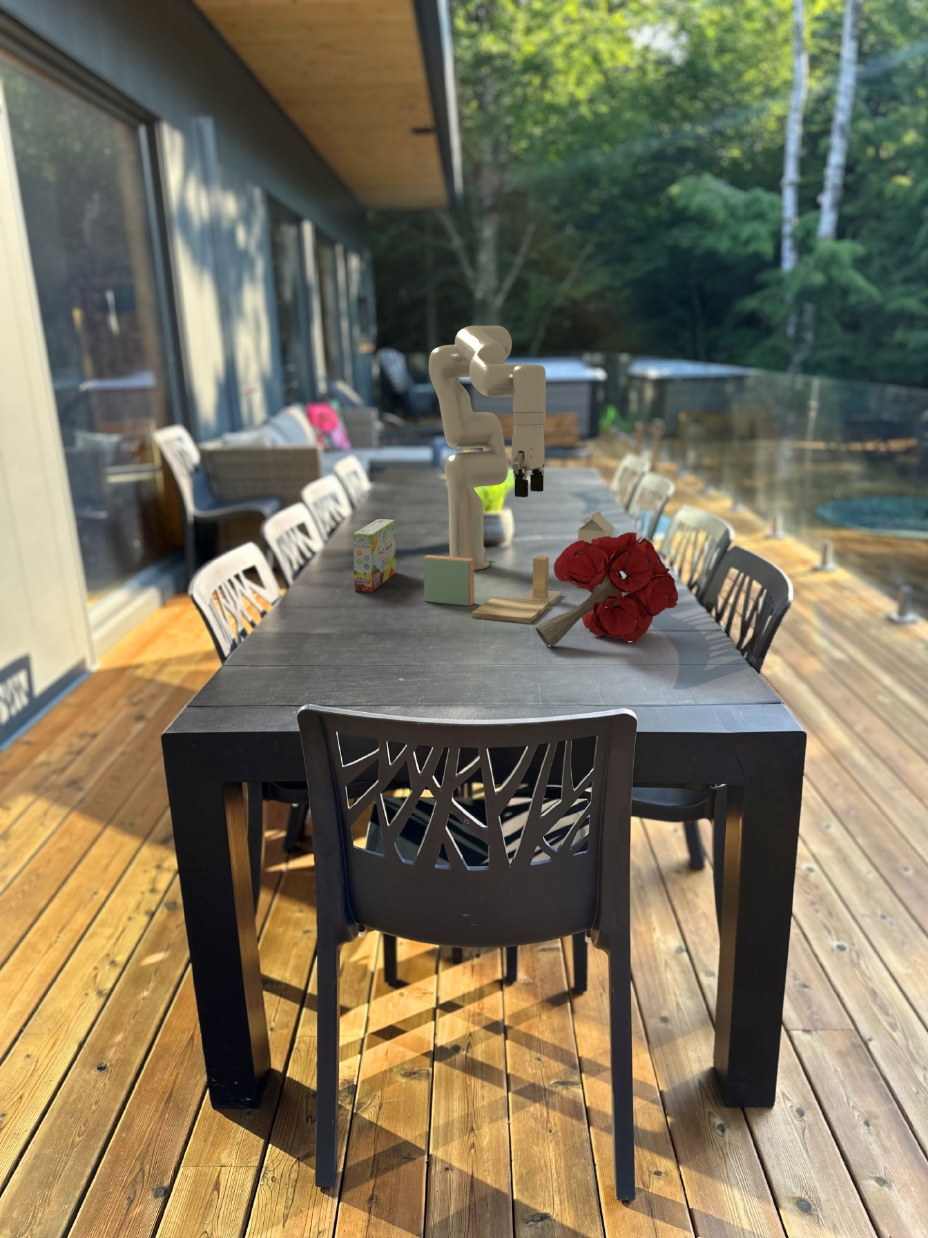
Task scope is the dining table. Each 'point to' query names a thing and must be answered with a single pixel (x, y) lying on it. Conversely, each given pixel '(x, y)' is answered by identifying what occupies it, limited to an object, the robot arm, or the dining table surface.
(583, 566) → the bouquet
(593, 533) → the milk carton
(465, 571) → the tile
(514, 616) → the wooden base plate
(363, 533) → the snack box
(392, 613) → the dining table surface
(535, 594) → the wooden post on base
